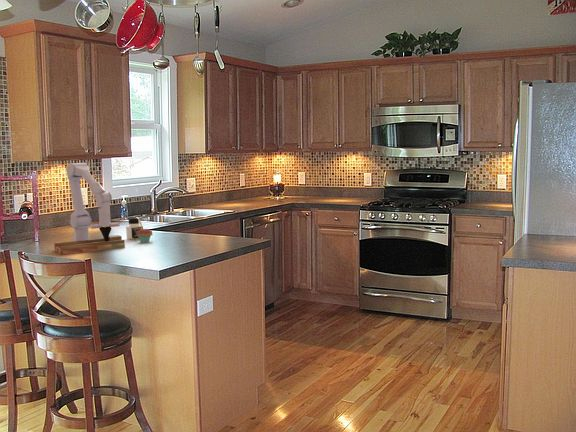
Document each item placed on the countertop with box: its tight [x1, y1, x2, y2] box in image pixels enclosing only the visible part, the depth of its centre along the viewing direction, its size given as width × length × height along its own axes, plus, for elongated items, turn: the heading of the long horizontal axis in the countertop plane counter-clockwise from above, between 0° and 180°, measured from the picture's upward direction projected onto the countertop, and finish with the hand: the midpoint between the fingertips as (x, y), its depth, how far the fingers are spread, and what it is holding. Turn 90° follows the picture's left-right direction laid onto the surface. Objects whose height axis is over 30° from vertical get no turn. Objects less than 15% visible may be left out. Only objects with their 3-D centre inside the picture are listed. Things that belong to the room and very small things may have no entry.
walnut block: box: [108, 234, 123, 241], centre depth 333 cm, size 6×6×3 cm
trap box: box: [53, 237, 126, 256], centre depth 327 cm, size 14×32×4 cm, turn 122°
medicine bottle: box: [125, 216, 144, 241], centre depth 360 cm, size 7×7×12 cm
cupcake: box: [136, 221, 153, 243], centre depth 347 cm, size 9×8×12 cm
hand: (106, 241), depth 331 cm, fingers closed
